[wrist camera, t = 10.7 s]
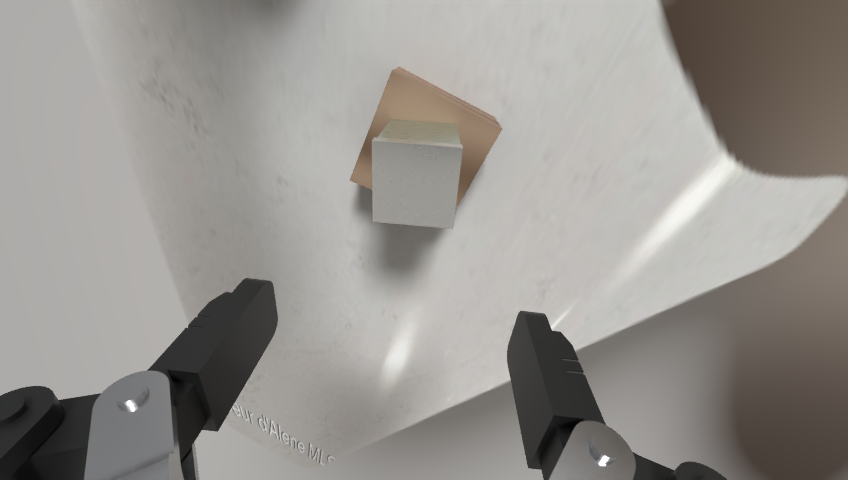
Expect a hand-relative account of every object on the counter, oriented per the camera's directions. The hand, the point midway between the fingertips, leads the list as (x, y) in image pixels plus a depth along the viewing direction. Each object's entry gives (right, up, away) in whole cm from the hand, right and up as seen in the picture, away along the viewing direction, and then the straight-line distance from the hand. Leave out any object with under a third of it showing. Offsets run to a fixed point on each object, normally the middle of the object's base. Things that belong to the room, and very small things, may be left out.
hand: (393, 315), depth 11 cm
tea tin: (+1, +9, +16) cm, 18 cm away
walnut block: (+1, +12, +20) cm, 23 cm away
